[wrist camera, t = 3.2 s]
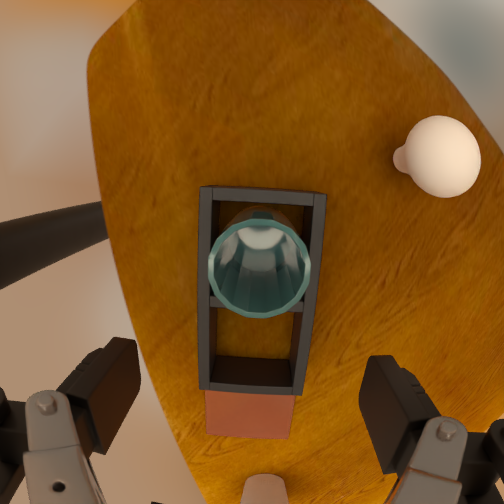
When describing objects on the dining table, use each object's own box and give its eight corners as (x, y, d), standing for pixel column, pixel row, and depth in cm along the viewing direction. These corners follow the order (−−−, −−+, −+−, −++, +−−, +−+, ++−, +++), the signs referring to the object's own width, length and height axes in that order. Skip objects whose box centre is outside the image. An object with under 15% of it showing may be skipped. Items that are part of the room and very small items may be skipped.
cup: (224, 271, 31) (207, 314, 21) (226, 203, 29) (209, 216, 19) (292, 275, 31) (305, 320, 21) (297, 207, 29) (315, 222, 19)
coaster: (206, 432, 35) (206, 434, 35) (205, 368, 33) (204, 370, 33) (287, 437, 35) (287, 439, 35) (298, 374, 33) (298, 376, 33)
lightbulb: (379, 120, 27) (434, 95, 16) (432, 141, 27) (500, 130, 16) (366, 181, 28) (419, 184, 18) (420, 199, 28) (487, 212, 18)
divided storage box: (206, 362, 33) (198, 389, 28) (210, 185, 29) (199, 186, 24) (297, 367, 33) (301, 395, 28) (316, 191, 29) (327, 194, 24)
